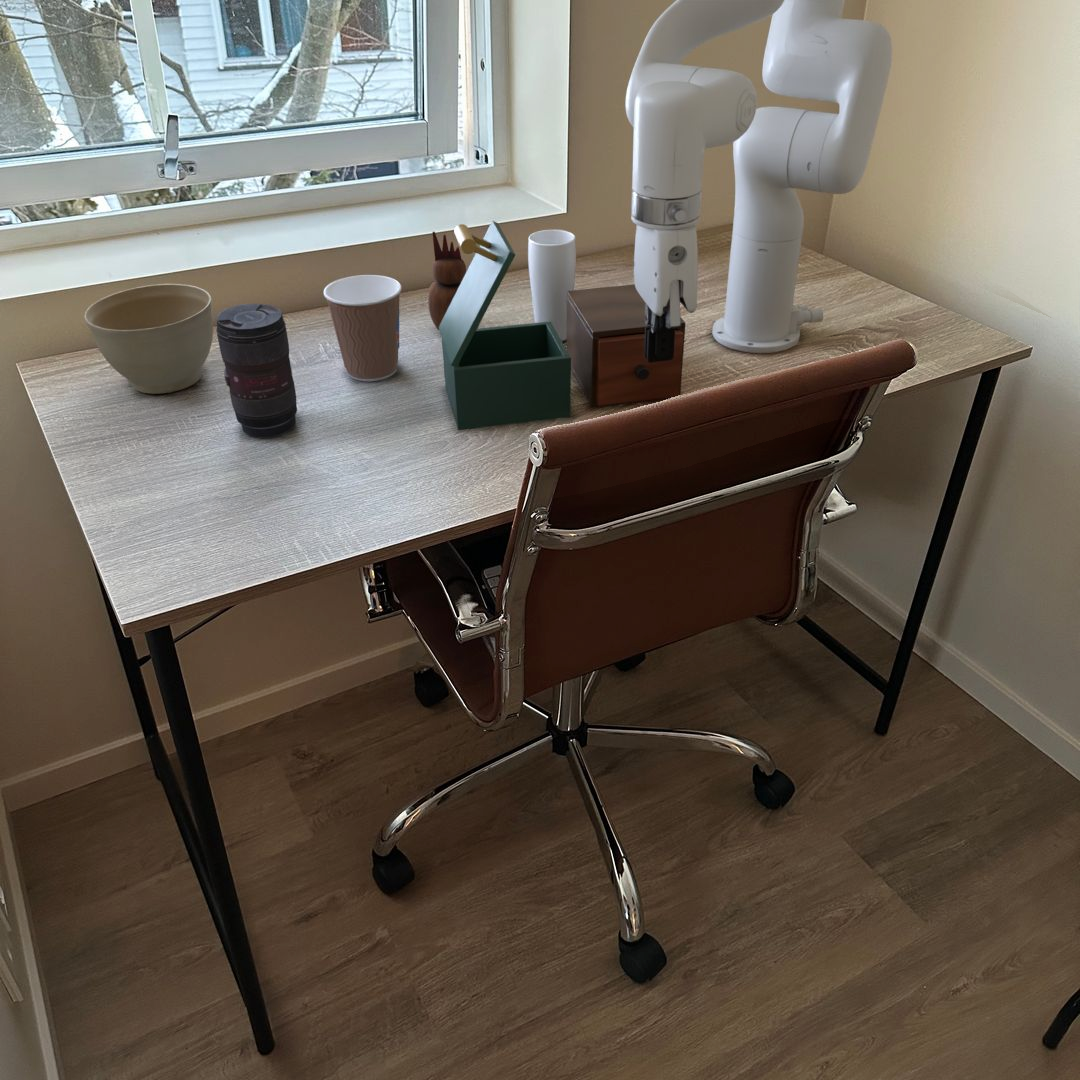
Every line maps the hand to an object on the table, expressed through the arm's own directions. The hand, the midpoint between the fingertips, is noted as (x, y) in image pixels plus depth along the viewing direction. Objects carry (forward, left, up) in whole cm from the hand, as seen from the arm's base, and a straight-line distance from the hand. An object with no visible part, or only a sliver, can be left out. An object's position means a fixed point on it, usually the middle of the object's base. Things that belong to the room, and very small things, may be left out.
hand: (658, 358), depth 123 cm
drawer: (0, -12, -9) cm, 15 cm away
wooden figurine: (+20, -36, -10) cm, 42 cm away
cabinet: (0, -14, -10) cm, 17 cm away
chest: (+17, -11, -10) cm, 22 cm away
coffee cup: (+33, -25, -10) cm, 43 cm away
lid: (+20, -11, +6) cm, 23 cm away
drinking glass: (+6, -30, -10) cm, 32 cm away
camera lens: (+47, -12, -10) cm, 50 cm away
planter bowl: (+61, -29, -10) cm, 69 cm away
